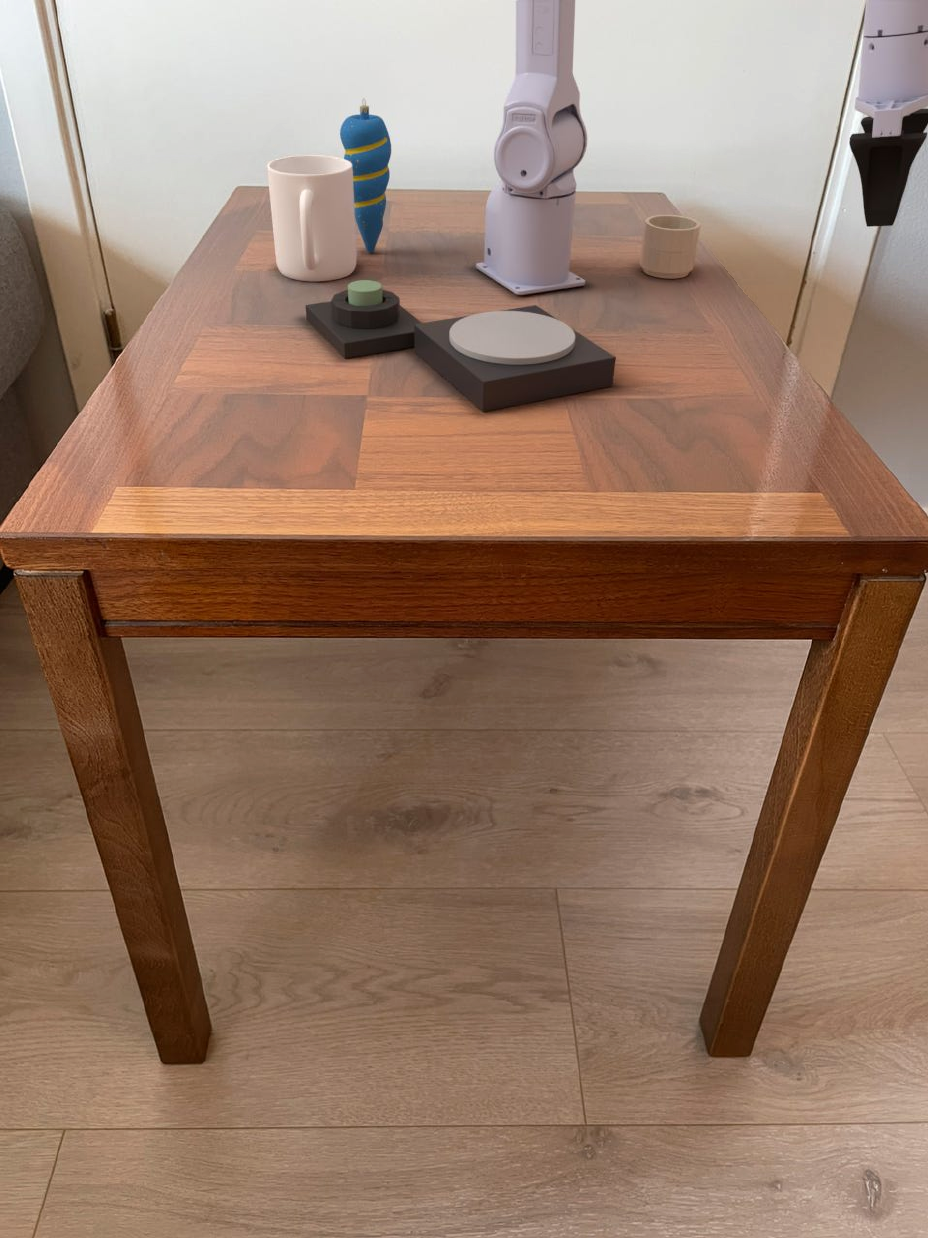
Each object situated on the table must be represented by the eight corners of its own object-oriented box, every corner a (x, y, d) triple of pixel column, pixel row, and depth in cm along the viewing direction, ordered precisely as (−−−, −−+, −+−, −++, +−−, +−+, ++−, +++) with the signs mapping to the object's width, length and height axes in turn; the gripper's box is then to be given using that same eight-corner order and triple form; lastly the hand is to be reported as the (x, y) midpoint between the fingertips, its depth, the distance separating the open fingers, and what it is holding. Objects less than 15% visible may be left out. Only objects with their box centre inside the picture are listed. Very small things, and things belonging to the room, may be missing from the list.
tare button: (343, 299, 87) (342, 282, 86) (374, 295, 88) (374, 278, 87) (355, 310, 85) (355, 293, 84) (387, 305, 86) (387, 288, 85)
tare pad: (306, 319, 90) (303, 287, 88) (386, 307, 93) (385, 275, 91) (345, 358, 83) (343, 324, 81) (430, 344, 86) (430, 311, 84)
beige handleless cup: (628, 266, 104) (634, 217, 101) (671, 260, 107) (678, 212, 103) (659, 282, 101) (666, 232, 98) (703, 275, 103) (711, 226, 100)
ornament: (357, 261, 104) (349, 104, 95) (339, 248, 107) (330, 95, 98) (401, 255, 106) (398, 101, 97) (382, 242, 109) (377, 92, 100)
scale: (414, 352, 85) (413, 317, 83) (534, 331, 89) (536, 297, 87) (482, 412, 75) (483, 374, 74) (612, 386, 80) (617, 349, 78)
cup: (358, 256, 105) (354, 155, 99) (353, 295, 96) (348, 185, 89) (281, 256, 105) (272, 153, 99) (268, 294, 95) (256, 184, 89)
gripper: (955, 35, 70) (930, 233, 77) (960, 16, 80) (938, 192, 88) (850, 46, 73) (836, 236, 80) (868, 26, 83) (854, 196, 91)
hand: (883, 213), depth 84 cm, fingers open, 7 cm apart
